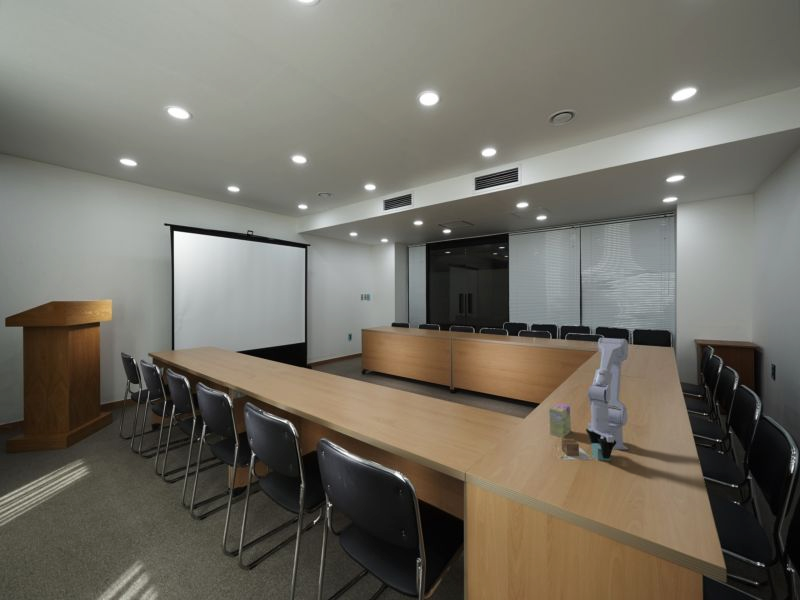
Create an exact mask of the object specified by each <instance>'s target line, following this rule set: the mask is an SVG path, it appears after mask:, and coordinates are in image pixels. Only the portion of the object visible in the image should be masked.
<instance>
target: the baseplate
mask: <svg viewBox="0 0 800 600" xmlns="http://www.w3.org/2000/svg"><path fill="white" fill-rule="evenodd" d="M552 447H553V446H552ZM557 447H558V450H559V447H560V446H557ZM553 448H554V447H553ZM563 453H564V452H563ZM558 457H559V456H558ZM558 457H557V458H558ZM560 457H561V458H564V459H563V460H581V461H582V460H585V461H587V460H588V461H592V460H593V459H592V458H591V456H590V455H589V454H588V453H586V451H584V450H583V449H582V447H579V456H566V454H565V456H560Z"/></svg>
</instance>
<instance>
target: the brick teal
mask: <svg viewBox="0 0 800 600" xmlns="http://www.w3.org/2000/svg"><path fill="white" fill-rule="evenodd" d="M590 444H591V455H592V456H593V457H594V458H595V459H596V460H597V461H612V457H611V456H612V455H611V456H610V459H605V458H603V456H602V450H601V446H600V443H591V442H590Z"/></svg>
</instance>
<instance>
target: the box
mask: <svg viewBox="0 0 800 600" xmlns="http://www.w3.org/2000/svg"><path fill="white" fill-rule="evenodd" d="M548 414H549V416H548V417H549V435H551V436H553V435H554V437H556V438H557V437H558V438H561V439H565V437H566V436H568V434H569V433H571V432H570V431H572V428H571V427H572V426H571V406H570V405H566V404H563V403H557V404H554V405H553V406H551V407H550V408H549V409H548Z"/></svg>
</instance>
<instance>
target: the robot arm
mask: <svg viewBox="0 0 800 600" xmlns="http://www.w3.org/2000/svg"><path fill="white" fill-rule="evenodd" d="M597 349H598V351H599V353H600V355H601V356H600V357H601V358H600V366H599V368H598V369H596V370H595V374H594V377H593V382H592V385H590V386H589V387H588V390H587V396H588V400H589V401H588V402H589V403H588V404H589V405H590V414H591V415H590V417H591V420H590V421H589V422H588V423H587V425H588V428H585V431H586V433H587V434H588V438H589V440H590V444H591V443H600V446H601V450H602V456H603V458H605V459H610V456H612V455H611V454H612V452H613V450H629V448H628V447H627V446H626V445H624V434H623V433H624V430H623V427H624V426H625V425H627V422H628V409H627V407H626V405H625V404H623V402H621V400H620V392H621V391H620V389H621V378H622V376H621V375H622V365H623V361H626V360H627V359H628V356H629V355H628V354H629V343H628V340H627V339H626V338H613V337H612V338H609V337H599V338H598V342H597Z"/></svg>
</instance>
